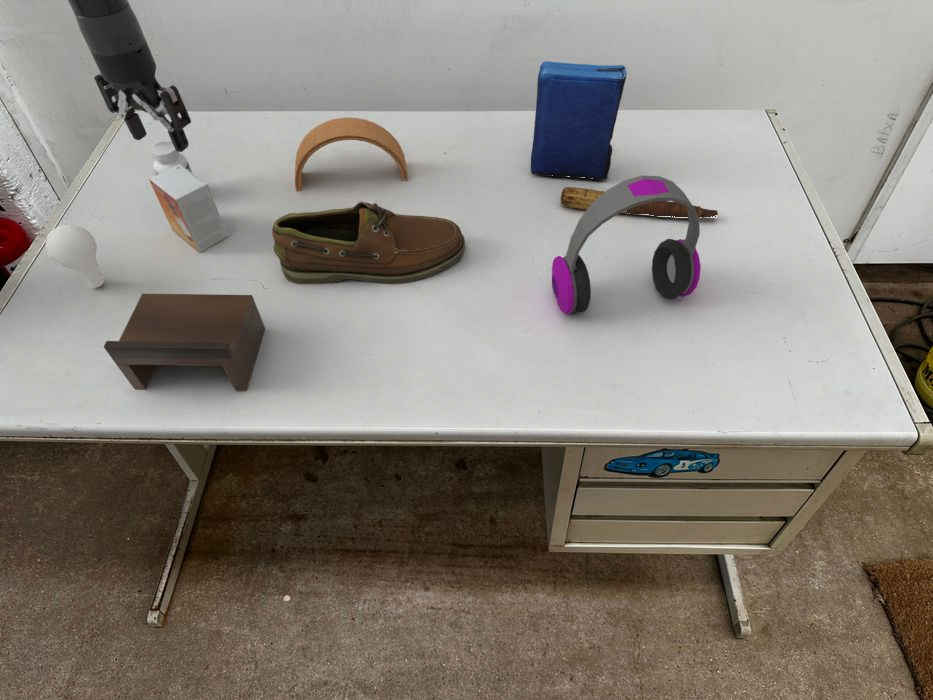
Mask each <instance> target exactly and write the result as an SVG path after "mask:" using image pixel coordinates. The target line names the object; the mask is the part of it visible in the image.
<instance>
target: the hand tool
mask: <svg viewBox="0 0 933 700" xmlns="http://www.w3.org/2000/svg"><path fill="white" fill-rule="evenodd" d="M605 191H606V190H605ZM605 191H604V190H598V189H591V188H583V187H572V186H565V187H564V188H563V189H562V191H561V194H560V205H561V204H562V205H563V206H562V205H561V206H562V207H566V208H571V209H572V208H573V209H581V210H585V211H586V210H587V209H588V208H589V206H590V205H591V204H592V203H593V202H594V201H595V200H596V199H597V198H599V197H600V196H601V195H602V194H603V193H604V192H605ZM692 205H693V204H692ZM693 207H694V208H695V210H696V212H697V215H698V217H699V218H700V217H702V219H704V218H703V217H711V216H712V217H713V216H715V215H718V216H719V212H718V210H716V209H708V208H703V207H701V206H698V205H693ZM621 213H628V214H627V215H629V213H630V214H649V215H654V216H671V217H672V216H673V217H674V216H675V217H688V209H687V207H686V206H685V205H683V204H680V203H677V202H673V201H654V202H650V203H646V204H641V205H637V206H635V207H633V208H630V209H628V210H626V211H623V212H621ZM715 217H716V216H715Z"/></svg>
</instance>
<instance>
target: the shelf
mask: <svg viewBox="0 0 933 700" xmlns="http://www.w3.org/2000/svg"><path fill="white" fill-rule="evenodd" d="M265 332H266V327H265V324H264V321H263V319H262V317H261V314H260V311H259V309H258V306H257V304H256V301H255V298H254V296H253V295H252V294H213V293H211V294H209V293H208V294H204V293H203V294H202V293H141V295H140V297H139V299H138V301H137V303H136V305H135V307H134V309H133V311H132V313H131V315H130V317H129V319H128V321H127V324H126V326H125V328H124V330H123V331H122V333H121V335H120V338H119V339H118V340H106V341H105V343H104V344H103V348H104V350H105V351H106V352H107V354H108V355H109V357H110V358H111V359H112V361H113V362H114V364H116V366H117V368H118V369H119V371H121V373H122V375H123V376H124V377H125V379H126V380H127V381H128V382H129V384H130V386H131V387H132V388H133V389H134V391H135V390H139V391H141V390H142V391H144V390H145V391H146V390H147V388H148V386H149V383H150V381H151V378H152V376H153V374H154V372H155V369H156V367H157V366H194V367H195V366H197V367H198V366H199V367H201V366H202V367H205V366H206V367H208V366H209V367H222V368H223V369H224V371H225V373H226V375H227V376H228V378H229V381H230V383H231V385H232V387H233V389H234V391H235V392H247V391H248V388H249V385H250V381H251V378H252V374H253V371H254V368H255V365H256V362H257V358H258V355H259V352H260V349H261V345H262V342H263V339H264V336H265V335H264V334H265Z"/></svg>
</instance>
